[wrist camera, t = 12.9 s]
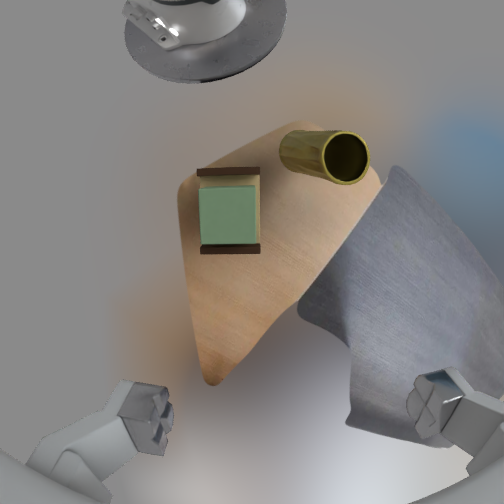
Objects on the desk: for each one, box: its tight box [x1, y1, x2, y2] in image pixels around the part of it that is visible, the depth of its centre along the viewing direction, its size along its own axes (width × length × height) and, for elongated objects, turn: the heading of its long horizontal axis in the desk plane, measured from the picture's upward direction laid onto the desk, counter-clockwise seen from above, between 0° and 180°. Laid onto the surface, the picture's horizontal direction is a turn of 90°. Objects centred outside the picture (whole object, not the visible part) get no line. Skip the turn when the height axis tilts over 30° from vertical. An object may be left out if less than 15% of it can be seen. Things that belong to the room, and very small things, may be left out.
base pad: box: [197, 167, 260, 254], centre depth 30 cm, size 7×5×18 cm
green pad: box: [198, 185, 256, 244], centre depth 21 cm, size 4×4×3 cm
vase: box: [279, 130, 370, 185], centre depth 30 cm, size 6×6×14 cm
